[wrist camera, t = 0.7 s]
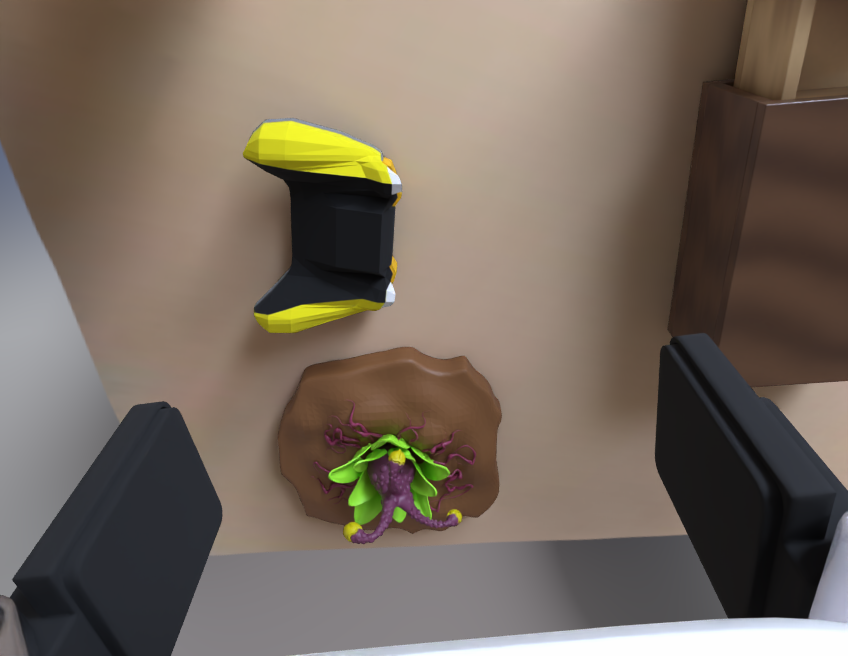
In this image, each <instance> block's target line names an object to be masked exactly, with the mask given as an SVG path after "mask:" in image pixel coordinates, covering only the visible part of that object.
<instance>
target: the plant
mask: <svg viewBox="0 0 848 656" xmlns="http://www.w3.org/2000/svg"><path fill="white" fill-rule="evenodd" d="M501 418H502V413H501V407H500V403H499V400H498V399H497V398H496V397H495V396H494V394H493V391H492V389H491V386H490V384H489V383H488V381H487V380H486V379H485V377H483V376H482V375H481V374H480V373H478V372H477V371H476V370H475V369H474V368H473V366H472V365H471V364H470V362H469V361H468V359H467V358H466V357H465V356H460V357H456V358H452V359H446V360H445V359H436V358H432V357H429V356H427V355H424V354H422V353H421V352H419V351H418V350H416V349H415V348H412V347H401V348H395V349H391V350H387V351H382V352H376V353H371V354H367V355H362V356H358V357H353V358H349V359H344V360H336V361H330V362H325V363H319V364H315V365H311V366H309V367H307V368H306V369H305V370H304V372H303V375H302V378H301V381H300V384H299V387H298V389H297V391H296V394H295V395H294V397H293V398H292V399H291V400H290V401H289V403H288V404H287V406H286V408H285V411H284V414H283V417H282V420H281V423H280V428H279V432H278V446H279V457H280V468H281V473H282V475H283V476H284V477H285V478H286V479H287V480H288V481H289V482H290V483H292V484H293V486H294V487H295V488H296V490H297V492H298V494H299V497H300V499H301V502H302V504H303V506H304V509H305V512H306V515H307V516H310V517H315V518H318V519H321V520H324V521H327V522H331V523H336V524H341V525H345V527H344V529H343V535H344V537H345V538H346V539H347V540H348V541H349V542H352V543H357V544H360V543H362V544H365V543H367V542H369V543H372V542H374V540H375V539H377V538H378V537H379V536H382V535H383V532H384V531H385V529H388V528H400V529H403V530H406V531H408V532H410V533H412V534H413V533H415V532H417V531H419V530H422V529H431V530H437V531H443V530H446V529H448V528H449V527H451V526H457V525H458V524H459V523H460V522H461V520H462V517H463V516H469V517H475V518H476V517H479V516H480V515H482V514H483V513H484V512H485V511H486V510H488V509H489V507H490V506H491V505H492V504H493V503H494V501H495V500H496V498H497V496H498V493H499V475H498V468H497V462H496V443H497V430H498V427H499V424H500V422H501ZM363 530H375V531H374V532H373V533H371V534H366V533H364V531H363Z"/></svg>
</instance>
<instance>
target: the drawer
mask: <svg viewBox="0 0 848 656" xmlns="http://www.w3.org/2000/svg"><path fill="white" fill-rule="evenodd" d="M733 87H735V88H738V89H741V90H744V91H747V92H750V93H753V94H756V95H759V96H762V97H765V98H768V99H771V100H774V101H775V100H787V99H799V98H811V97H823V96H835V95H847V94H848V0H748V2H747V8H746V14H745V20H744V26H743V32H742V38H741V44H740V50H739V56H738V62H737V68H736V74H735V80H734V86H733Z"/></svg>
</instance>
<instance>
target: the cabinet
mask: <svg viewBox="0 0 848 656" xmlns="http://www.w3.org/2000/svg"><path fill="white" fill-rule="evenodd" d="M734 80H735V79H734ZM734 80H722V81H711V82H703V86H702V93H701V100H700V107H699V114H698V121H697V128H696V135H695V142H694V149H693V156H692V163H691V170H690V177H689V184H688V191H687V198H686V205H685V212H684V219H683V226H682V233H681V240H680V247H679V254H678V261H677V268H676V275H675V282H674V289H673V295H672V302H671V309H670V316H669V323H668V331H669V332H670V334H671V335H672V337H675V336H683V335H691V334H698V333H706V334H707V335H708V336H709V337H710V338H711V339H712V340H713V342H714V343H715V344H716V345H717V347H718V348H719V349H720V350H721V351H722V353H723V354H724V355H725V356H726V358H727V359H728V360H729V361H730V362H731V364H732V365H733V366H734V367H735V369H736V370H737V371H738V372H739V373H740V375H741V376H742V377H743V378H744V380H745V381H746V382H747V383H748V385H749V386H750V387H762V386H777V385H792V384H807V383H823V382H838V381H848V94H847V95H835V96H823V97H811V98H799V99H787V100H775V101H774V100H771V99H768V98H765V97H762V96H759V95H756V94H753V93H750V92H747V91H744V90H741V89H738V88H735V87H733V86H734Z"/></svg>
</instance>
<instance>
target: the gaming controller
mask: <svg viewBox="0 0 848 656" xmlns="http://www.w3.org/2000/svg"><path fill="white" fill-rule="evenodd" d="M243 156H244V158H246V159H247V160H249V161H250V162H252V163H253V164H255V165H257V166H258V167H260V168H261V169H263V170H264V171H266V172H268V173H270V174H272V175H275V176H277V177H279V178H281V179H283V180H284V181H285V182H286V184H287V185H288V187H289V190H290V197H291V228H292V265H291V267H290V268H289V269H288V271H287V272H286V273H285V274H284V275H283V276H282V277H281V278H280V279H279V280H278V282H277V283H276V284H275V285H274V286H273V287H272V288H271V289H270V290H269V291H268V292H267V293H266V294H265V295H264V296H263V297H262V298H261V299H260V300H259V301H258V302H257V303H256V305H255V307H254V316H255V318H256V320H257V322H258V323H259V325H261V326H262V327H263V328H264V329H266V330H267V331H268V332H269V333H297V332H300V331H303V330H306V329H309V328H312V327H315V326H318V325H321V324H324V323H327V322H330V321H333V320H336V319H340V318H343V317H346V316H350V315H353V314H356V313H360V312H363V311H366V310H371V311H376V310H379V309H381V308H383V307H387V306H391V305H392V304H393V303H394V300H395V292H394V289H393V286H392V283H393V281H394V279H395V276H396V272H397V262H396V261H395V259H394V257H393V255H392V253H393V236H394V220H395V206H396V204H397V203H398V201H399V200H400V198H401V195H402V184H401V181H400V179H399V176H398V175H397V173H396V170H395V168H394V165H393V163H392V160H390V159H387V158H385V157H384V156H383V154H382V151H380V150H379V149H378V148H376V147H375V146H373V145H371V144H369V143H367V142H364V141H362V140H360V139H358V138H355V137H353V136H351V135H349V134H346V133H344V132H342V131H338V130H335V129H331V128H327V127H324V126H320V125H317V124H313V123H309V122H306V121H302V120H299V119H295V118H285V119H268V120H265V121H264V122H262V123H261V124H260V125H259V126H258V127H257V128H256V129H255V130H254V131H253V133H252V135H251V137H250V139H249V141H248V143H247V146H246V148H245V150H244V152H243Z"/></svg>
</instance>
